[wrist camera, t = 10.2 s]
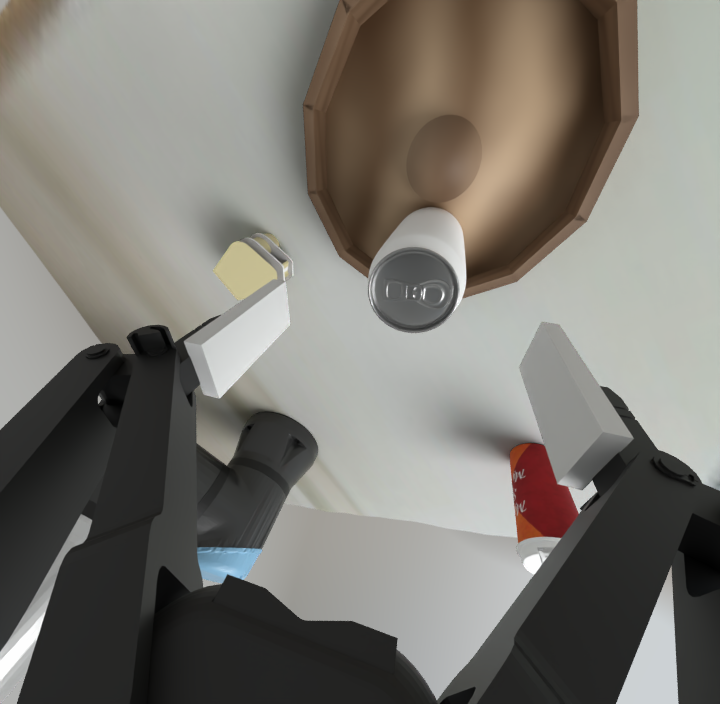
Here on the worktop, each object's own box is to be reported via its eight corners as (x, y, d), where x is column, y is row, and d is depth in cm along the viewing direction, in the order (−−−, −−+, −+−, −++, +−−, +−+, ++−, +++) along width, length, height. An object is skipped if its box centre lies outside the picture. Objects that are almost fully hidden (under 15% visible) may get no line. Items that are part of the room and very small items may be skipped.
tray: (325, 269, 32) (312, 280, 29) (318, -45, 19) (292, -80, 16) (530, 300, 28) (539, 317, 25) (698, -72, 15) (758, -128, 12)
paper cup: (493, 443, 41) (507, 550, 30) (553, 433, 37) (595, 552, 26) (512, 475, 43) (531, 583, 33) (570, 469, 40) (614, 590, 29)
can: (456, 279, 28) (456, 344, 18) (392, 274, 29) (361, 332, 20) (470, 206, 24) (479, 242, 15) (396, 205, 25) (360, 236, 16)
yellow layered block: (270, 305, 38) (246, 325, 34) (223, 246, 35) (190, 260, 30) (324, 270, 33) (304, 288, 29) (274, 198, 30) (244, 206, 25)
